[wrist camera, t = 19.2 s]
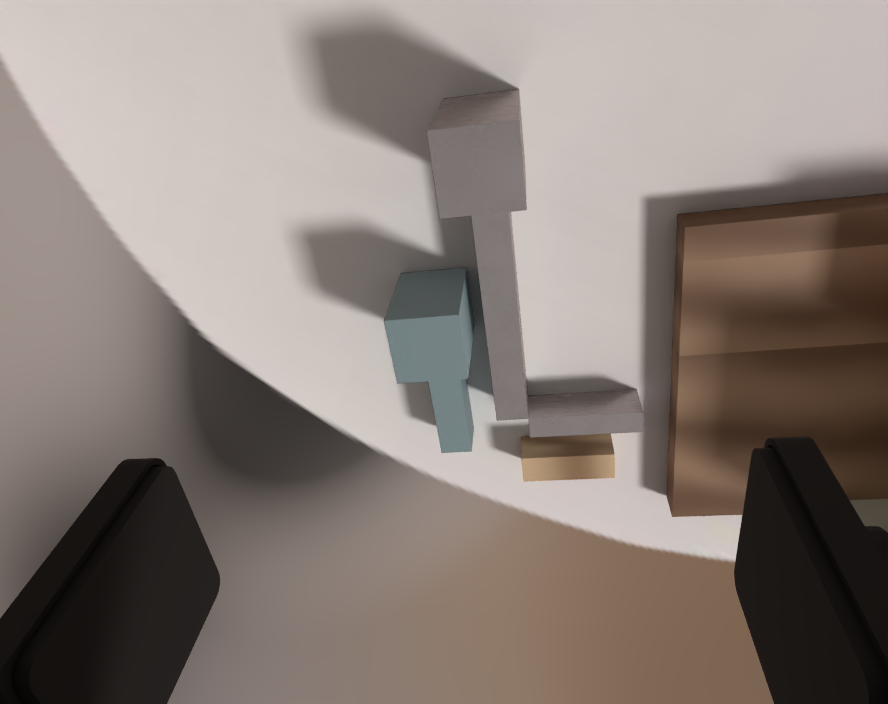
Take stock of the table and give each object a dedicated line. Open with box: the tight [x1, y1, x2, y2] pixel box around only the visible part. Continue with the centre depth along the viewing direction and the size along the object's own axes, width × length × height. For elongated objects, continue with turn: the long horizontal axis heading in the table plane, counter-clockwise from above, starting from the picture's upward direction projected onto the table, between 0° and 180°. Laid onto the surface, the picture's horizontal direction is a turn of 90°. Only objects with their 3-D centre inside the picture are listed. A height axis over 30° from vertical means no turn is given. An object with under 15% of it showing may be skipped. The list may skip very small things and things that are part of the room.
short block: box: [521, 433, 615, 481], centre depth 45 cm, size 6×2×2 cm, turn 98°
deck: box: [667, 193, 888, 517], centre depth 39 cm, size 21×24×2 cm
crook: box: [427, 89, 643, 437], centre depth 36 cm, size 21×10×7 cm, turn 8°
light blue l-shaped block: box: [384, 267, 474, 453], centre depth 40 cm, size 12×4×6 cm, turn 8°
